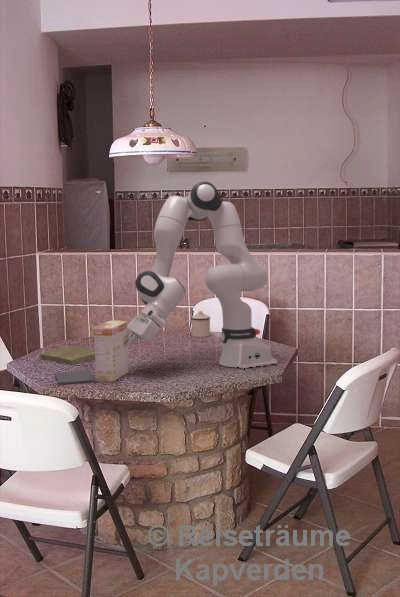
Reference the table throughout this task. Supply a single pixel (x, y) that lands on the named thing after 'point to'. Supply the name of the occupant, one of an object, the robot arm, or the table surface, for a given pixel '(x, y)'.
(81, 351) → the decorative tile
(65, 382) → the mat
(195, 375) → the table surface
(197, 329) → the teacup with lid
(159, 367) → the table surface
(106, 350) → the coffeecake box
